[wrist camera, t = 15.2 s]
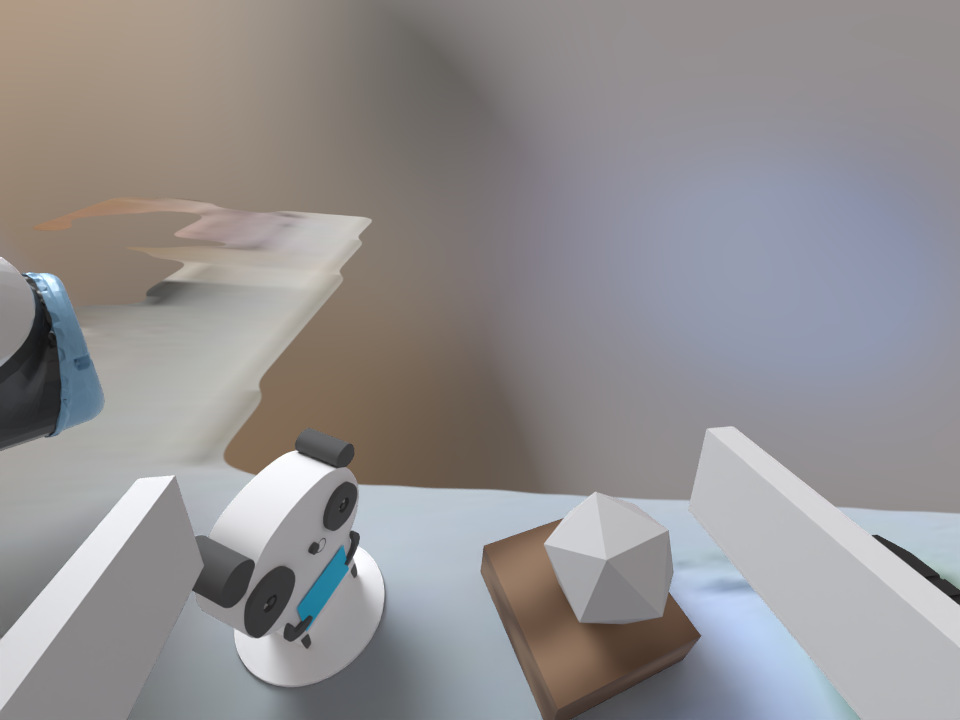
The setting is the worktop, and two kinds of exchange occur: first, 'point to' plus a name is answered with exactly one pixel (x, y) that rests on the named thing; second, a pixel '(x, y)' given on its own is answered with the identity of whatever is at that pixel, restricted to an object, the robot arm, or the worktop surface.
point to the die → (611, 561)
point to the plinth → (573, 632)
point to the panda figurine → (294, 567)
